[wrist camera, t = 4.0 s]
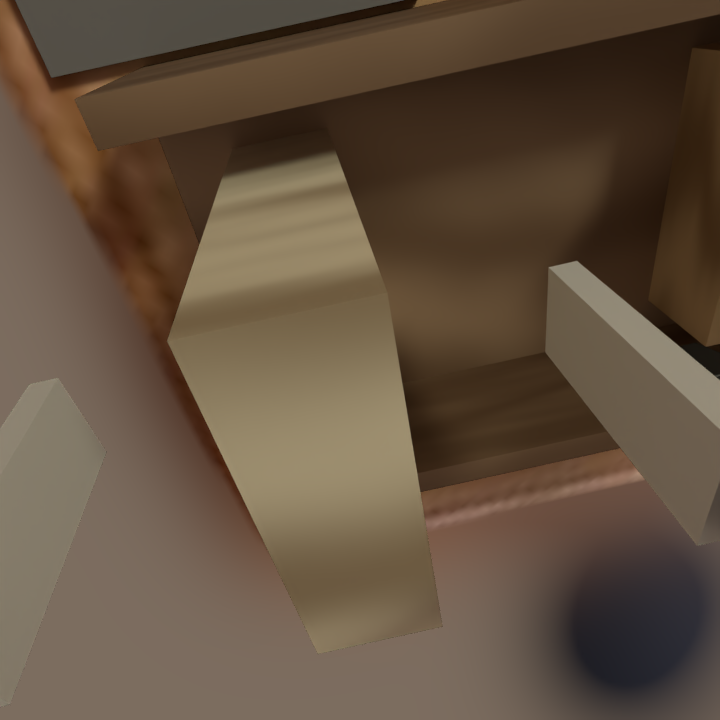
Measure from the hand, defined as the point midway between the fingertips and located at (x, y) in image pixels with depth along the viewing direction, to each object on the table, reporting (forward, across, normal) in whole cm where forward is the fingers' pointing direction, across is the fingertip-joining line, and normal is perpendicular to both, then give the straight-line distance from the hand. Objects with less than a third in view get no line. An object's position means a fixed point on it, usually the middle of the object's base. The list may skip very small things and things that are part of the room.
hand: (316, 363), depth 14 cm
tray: (+7, +8, 0) cm, 10 cm away
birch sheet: (+6, 0, 0) cm, 6 cm away
